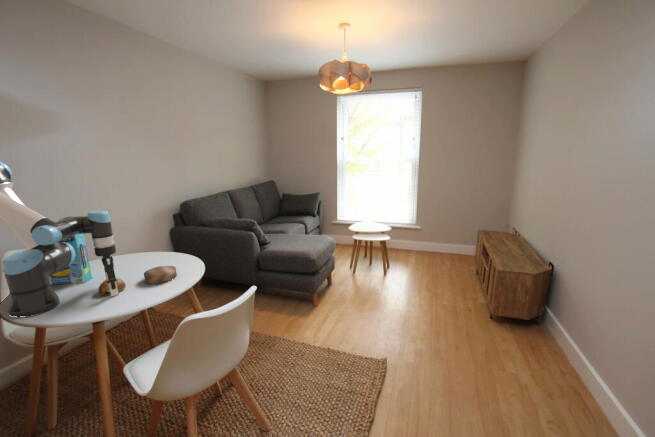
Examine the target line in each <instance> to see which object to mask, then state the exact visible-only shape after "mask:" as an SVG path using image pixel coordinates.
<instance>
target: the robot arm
mask: <svg viewBox="0 0 655 437" xmlns="http://www.w3.org/2000/svg"><path fill="white" fill-rule="evenodd" d="M12 175H13V172H12V169H11V168H10V166H8V165H7V164H5V163H4V162H3V161H1V160H0V218H1V219H2V220H4V221H5V223H6V224H7V226H8V227H9V228H11V230H12V231H13V232H14V233H15V235H16V236H17V237H18V238H19V239H20V241H21V242H22V243H23V244H24V245H25V246H26V249H25V250H22V251H20V252H19V251H18V252H15V253H13V254H10V255H8V256H6V257H5V258H4V259H3V260H2V267H3V268H2V271H3V272H2V273H3V274H4V277H5V280H6V283H7V287H8V292H9V294H10V298H9V299H10V300H9V304H8V309H7V312H8V316H9V315H11V316H17V317H20V316H30V317H32V316H31V315H34V316H37V315H36V314H38V315H40V313H41V314H43V312H44V313H47V312H49V311H51V310H53V309H55V308H56V307H57V306H59V305H60V303H61V301H60V298H59V296H58V294H57V293H56V291H55V290H54V289H53V288H52V285H50V283H49V278H48V277H49V276H51V275H53V274H55V273H57V272H59V271H61V270H63V269H65V268H67V267H68V266H70V265H71V264H72V263H73V262H74V260H75V256H76V254H75V250H74V248H73V247H72V246H71V245H70V244H68V243H65V242H60V241H61V240H63V239H66V238H69V237H72V236H74V235H77V234H84V235H85V234H90V235H91V239H92V244H93V247H94V248H93V250H94V255H95V256H96V257H101V262H102V266H103V268H104V273H105V280H106V279H108V280H109V281H107V283H109V287H110V293H111V295H110V296H111V297H114V296H118V295H120V292H119V293H118V288H117V283H116V278H117V277H116V274H115V268H114V267H115V265H114V259H113V256H111V255H114V254H116V253H117V248H116V245H115V239H116V236H114V234H113V228H112V227H113V226H112V219H111V217H110V213H109V211H108V210H102V209H100V210H92V211H89V212H88V213H87V215H86V216H85V215H83V216H73V215H72V216H71V215H70V216H65V217H59V219H58V220H57V221H54V220H52V219H51V218H50V219H49V218H48V217H46V216H44V215H42V214H41V213H39V212H37V211H35V210H33V209H31V208H30V207H28V206H26V204H25V203H24V202H23V201H22V199H21V198H20V197H19V196H18V195H17V194H16V192H15V191H14V189H13V187H14V182H13V176H12ZM110 279H111V280H110Z"/></svg>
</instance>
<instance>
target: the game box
mask: <svg viewBox="0 0 655 437" xmlns="http://www.w3.org/2000/svg"><path fill="white" fill-rule="evenodd" d="M60 242H65V243H68V244H70V245H71V246H72V247H73V248H74V250H75V254H76V256H75V260H74V262H73V263H72V264H71V265H70V266H68V267H67V268H65V269H63V270H61V271H59V272H57V273H55V274H53V275H51V276H49V277H48V278H49V283H50V286H52V285H68V284H70V285H71V284H85V283H87V282H89V281H91V280H92V279H93V274H92V272H91V265H90V260H89V255H88V250H87V244H86V240H85V234H77V235H74V236H72V237H69V238H66V239H63V240H61V241H60Z"/></svg>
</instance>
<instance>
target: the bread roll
mask: <svg viewBox="0 0 655 437" xmlns="http://www.w3.org/2000/svg"><path fill="white" fill-rule="evenodd" d="M110 280H111V279H110ZM107 281H109V280H108V279H106V278H105V280H103V282H101V283H100V285H99V287H98V293H99V295H101V296H105V297H106V296H107V297H108V296H111V293H110V287H109V283H107ZM116 283H117V288H118V293H119V294H120V293H121V292H123V291H124V290H125V289H126V283H125V281H124V280H123V279H121V278H119V277H116Z"/></svg>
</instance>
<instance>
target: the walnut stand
mask: <svg viewBox="0 0 655 437" xmlns="http://www.w3.org/2000/svg"><path fill="white" fill-rule="evenodd" d="M176 276H178V273H177V267H176V266H173V265H160V266H156V267H152V268H150V269H147V270H146V271H144V272H143V278H144V282H145V284H148V285H152V286H153V285H162V284H165V282H166V283H169V282H172V281H173V280H175V279H176V278H177V277H176ZM175 277H176V278H175ZM174 278H175V279H174ZM172 279H173V280H172ZM168 281H169V282H168Z"/></svg>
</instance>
